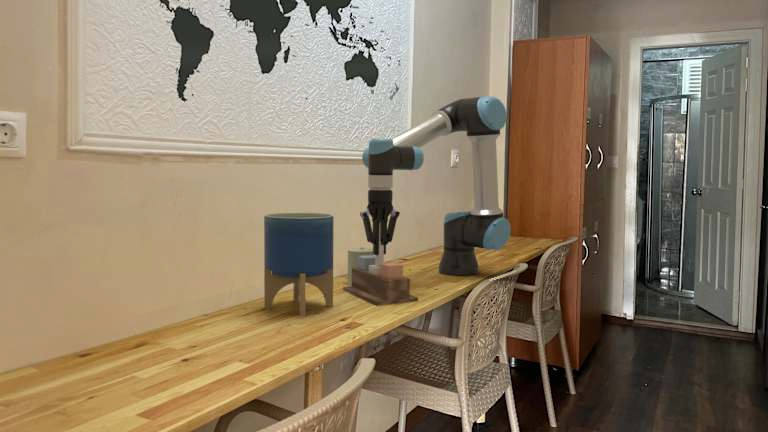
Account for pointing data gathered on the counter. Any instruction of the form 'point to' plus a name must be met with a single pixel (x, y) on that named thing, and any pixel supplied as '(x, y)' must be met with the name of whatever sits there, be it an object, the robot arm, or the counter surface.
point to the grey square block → (365, 262)
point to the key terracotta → (391, 271)
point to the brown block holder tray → (379, 288)
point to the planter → (298, 255)
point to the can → (356, 259)
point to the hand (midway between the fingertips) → (379, 265)
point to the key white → (374, 269)
